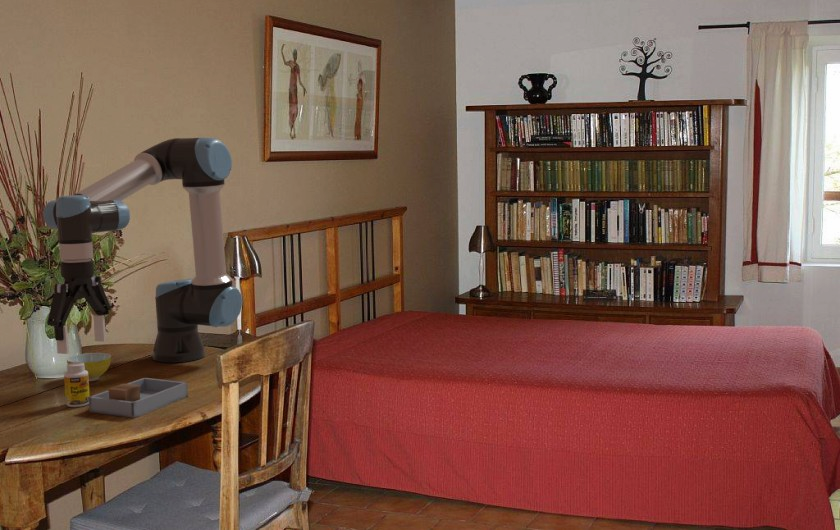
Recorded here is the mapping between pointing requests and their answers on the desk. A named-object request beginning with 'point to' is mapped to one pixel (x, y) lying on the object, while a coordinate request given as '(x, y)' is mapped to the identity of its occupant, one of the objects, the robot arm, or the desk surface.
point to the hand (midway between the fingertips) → (82, 347)
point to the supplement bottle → (76, 385)
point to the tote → (151, 398)
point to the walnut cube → (125, 392)
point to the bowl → (92, 363)
